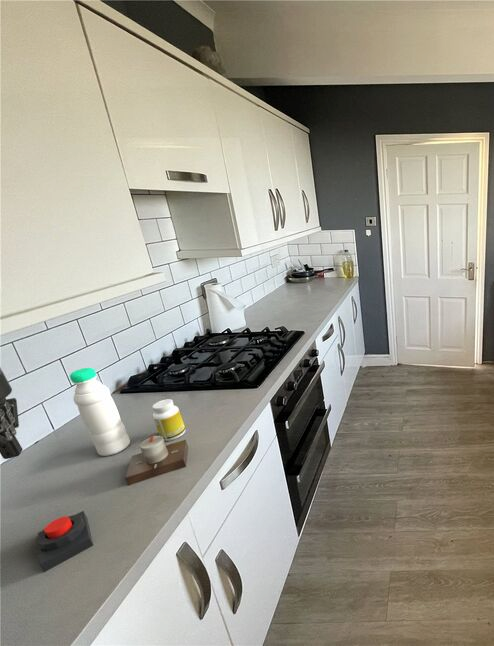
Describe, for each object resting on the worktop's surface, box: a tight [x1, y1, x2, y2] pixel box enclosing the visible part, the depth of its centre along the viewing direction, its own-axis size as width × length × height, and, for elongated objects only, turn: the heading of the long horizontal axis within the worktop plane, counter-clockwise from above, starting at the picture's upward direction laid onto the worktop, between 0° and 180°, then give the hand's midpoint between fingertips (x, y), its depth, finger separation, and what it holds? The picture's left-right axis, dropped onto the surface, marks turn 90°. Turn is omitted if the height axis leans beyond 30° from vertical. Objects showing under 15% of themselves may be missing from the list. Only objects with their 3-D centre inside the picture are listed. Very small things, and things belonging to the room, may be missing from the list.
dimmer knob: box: [139, 435, 168, 464], centre depth 90 cm, size 5×5×5 cm
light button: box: [43, 516, 73, 539], centre depth 70 cm, size 4×4×2 cm
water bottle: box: [69, 367, 131, 457], centre depth 94 cm, size 7×7×25 cm
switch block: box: [36, 510, 94, 573], centre depth 71 cm, size 10×7×4 cm
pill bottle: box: [152, 398, 187, 442], centre depth 102 cm, size 6×6×11 cm
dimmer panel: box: [124, 439, 189, 486], centre depth 92 cm, size 12×9×3 cm
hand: (14, 455), depth 67 cm, fingers closed
